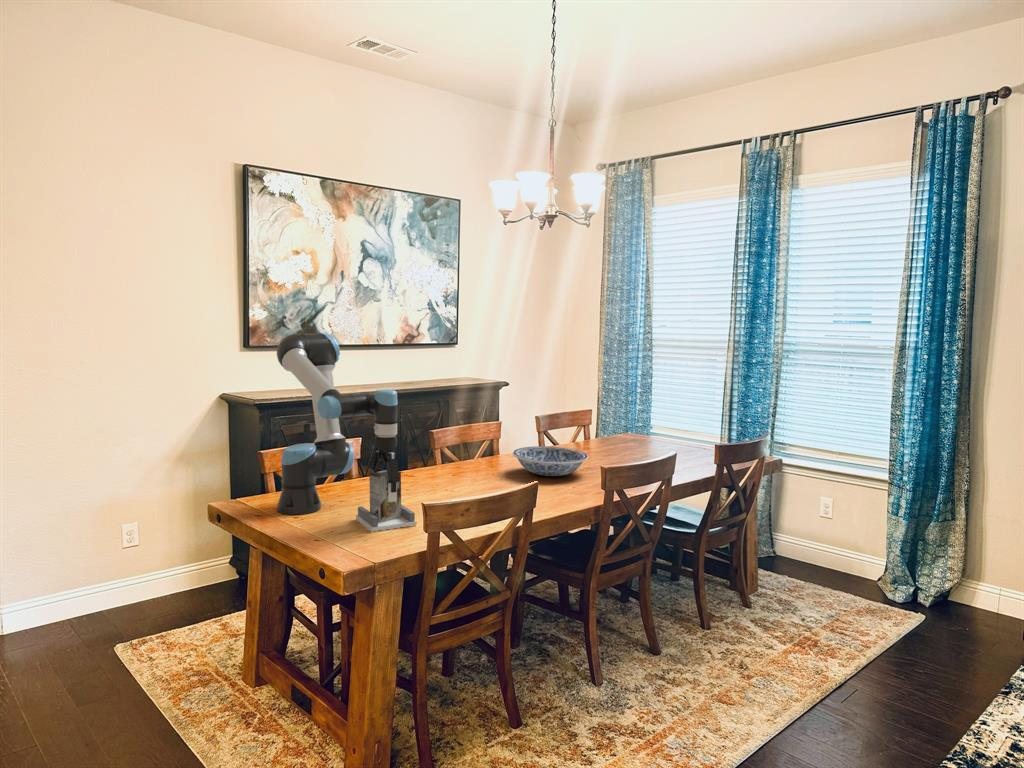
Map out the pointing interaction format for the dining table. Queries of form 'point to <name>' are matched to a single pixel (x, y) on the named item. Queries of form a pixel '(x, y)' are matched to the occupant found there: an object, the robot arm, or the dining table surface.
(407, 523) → the guide cradle
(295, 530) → the dining table surface
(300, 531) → the dining table surface
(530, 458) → the ceramic bowl
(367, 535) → the dining table surface
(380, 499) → the coffee box
